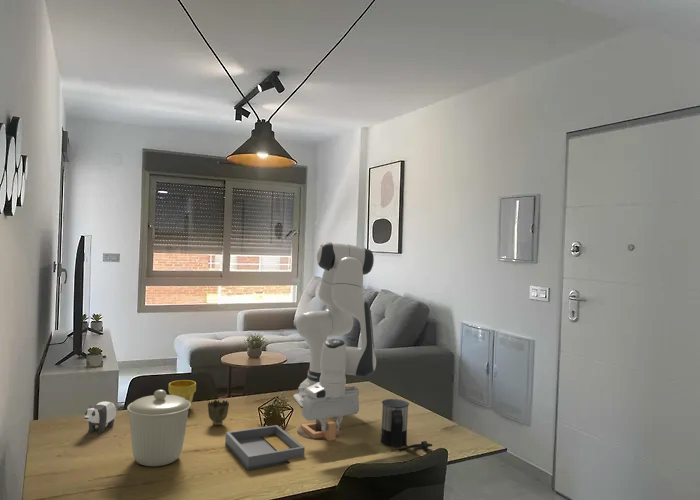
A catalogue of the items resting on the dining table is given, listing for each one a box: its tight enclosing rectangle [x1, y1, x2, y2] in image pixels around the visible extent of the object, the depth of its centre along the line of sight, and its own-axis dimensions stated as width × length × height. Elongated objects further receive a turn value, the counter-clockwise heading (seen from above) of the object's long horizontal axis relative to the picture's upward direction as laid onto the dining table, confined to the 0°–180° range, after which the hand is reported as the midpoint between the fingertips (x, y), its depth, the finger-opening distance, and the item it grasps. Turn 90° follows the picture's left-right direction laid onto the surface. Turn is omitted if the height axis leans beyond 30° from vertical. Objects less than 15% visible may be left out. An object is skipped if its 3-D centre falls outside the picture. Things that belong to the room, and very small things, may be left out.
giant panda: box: [83, 401, 117, 434], centre depth 184 cm, size 15×6×10 cm, turn 174°
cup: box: [207, 399, 230, 427], centre depth 195 cm, size 8×7×8 cm
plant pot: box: [168, 379, 197, 410], centre depth 212 cm, size 10×10×10 cm
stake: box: [296, 419, 344, 441], centre depth 189 cm, size 16×16×12 cm
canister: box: [126, 389, 192, 467], centre depth 163 cm, size 18×18×21 cm
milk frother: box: [380, 398, 433, 452], centre depth 182 cm, size 14×16×15 cm
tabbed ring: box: [300, 420, 340, 442], centre depth 187 cm, size 14×10×6 cm
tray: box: [225, 424, 305, 471], centre depth 172 cm, size 22×18×4 cm
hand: (330, 429), depth 183 cm, fingers open, 3 cm apart
